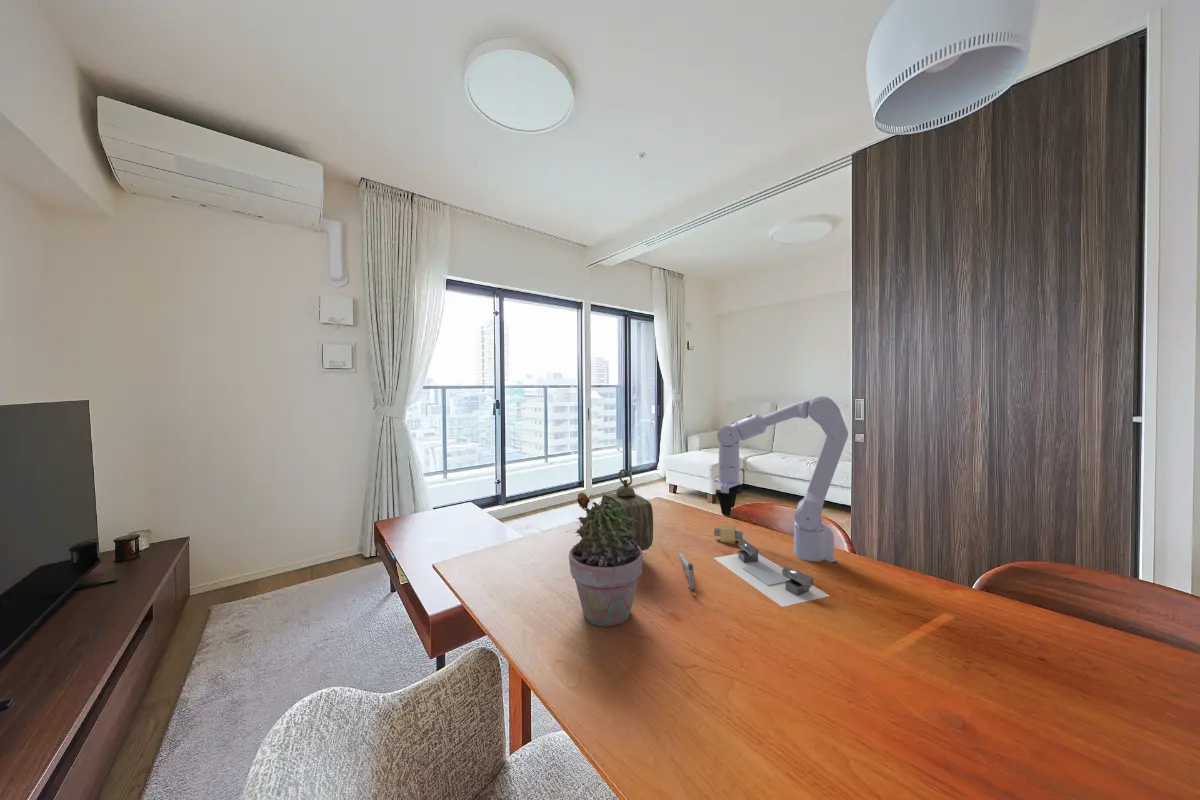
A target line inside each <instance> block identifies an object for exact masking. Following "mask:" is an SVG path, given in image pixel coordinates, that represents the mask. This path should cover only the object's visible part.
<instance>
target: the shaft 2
mask: <svg viewBox="0 0 1200 800" xmlns="http://www.w3.org/2000/svg"><path fill="white" fill-rule="evenodd" d="M782 568H783V570H782V575H783V576H784V577H786V578H788V579H790V580H788V581H786V590H787V591H789V592H791V593H793V594H795V595H796V596H799V595H801V594H804V593H806V592H809V588H810V587H811V586H812V585H813V586H814V578H813V577H812V576H810V575H808V574H806V573H803V572H801V571H799V570H797V569H794V568H792V567H789V566H787V565H785V566H784V567H782Z"/></svg>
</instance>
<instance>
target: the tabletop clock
mask: <svg viewBox="0 0 1200 800" xmlns="http://www.w3.org/2000/svg"><path fill="white" fill-rule="evenodd" d="M623 472H624V473H626V474H627V475H628V477H629V479H630V480H629V481H630V482H629V483H628V480H627V479H624V480H623V479H622V477H621V476H622V475H621V474H622V473H623ZM618 478H619V481H620V483H621V484H623V485H621V486H619V487H618V488H617V490H616V492H615V493H610V494H603V495H602V497H601V501H602V500H603V502H604V503H605V504H606V505H607V504H609V500H612V501H614V502H615V504H616V506H617V507H626V508H627V510H626V513H627V516H628V517H631V518H633V520H634V521H633V523H636V524H632V526H631V527H630V529H631V530H632V531H634V532H635V533H636V535H635V536H637V537H636V538H635V537H633V538H632V540H633V541H634V542H637V541H638V544H645V545H638V546H639V547H640V549H641V550H642V552H643V551H647V550H649V549H650V547H651V546H650V545H652V546H653V543H654V512H653V506H652V503H651V502H650V501H649V500H648V499H646V498H644V497H643V496H640V495H638V494H636V493H635V490H634V489H633V487H631V485H632V484H633V478H632V475H631V473H630V472H629V470H627V469H625V468H622V469H621V470H619V472H618ZM635 520H637V521H635ZM640 521H642V522H640ZM646 522H647V523H646ZM638 524H640V525H638ZM642 525H643V526H642ZM645 526H646V527H645ZM648 527H649V528H648ZM639 537H640V538H639Z"/></svg>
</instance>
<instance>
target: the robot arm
mask: <svg viewBox="0 0 1200 800" xmlns="http://www.w3.org/2000/svg"><path fill="white" fill-rule="evenodd" d="M808 417H809V418H810V419H811V420H812V421H814V422H815V423H816V424H818V425H819V426H820V428H821V429H822V431H823V432H824V434H825V435H826V437H825V439H824V442H823V445H822V448H821V450H820V453H819V456H818V459H817V460H816V464H815V467H814V470H813V473H812V476H811V479H810V482H809V483H808V487H807V489H806V492H805V493H804V496H803V498H801V499H800V500H799V501H798V503H797V505H796V510H795V513H794V523H793V555H794V556H795V557H797V558H799V559H801V560H804V561H808V562H821V561H823V560H826V561H827V562H829V563H835V562H837V559H836V558H835V557H834V556H835V555H834V554H835V551H834V549H835V548H834V546H835V545H834V543H835V537H834V533H833V531H832V530H831V528H830V527H829V526H828V525H826V524H824V523H823V522H822V521H823V519H822V515H823V511H824V510H823V507H824V504H825V500H826V497H827V493H828V491H829V488H830V486H831V483H832V480H833V477H834V474H835V472H836V469H837V467H838V464H839V462H840V459H841V456H842V452H843V451H844V448H845V445H846V442H847V440H848V437H849V432H848V428H847V426H846V423H845V421H844V418H843V417H844V416H842V412H841V409H840V408H839V406H838V405H837V404H836V403H835V402H834V401H833V400H832V399H831V398H830V397H828V396H823V395H822V396H817V397H815V398H813V399H811V398H810V399H807V400H802V401H798V402H795V403H792V404H789V405H787V406H785V407H782V408H780V409H778V410H775V411H773V412H770V413H768V414H766V415H759V414H756V413H755V414H752V413H749V414H747V415H746V417H745V418H743V419H739V420H737V421H735V420H733V421H730V424H727V425H724V426H722V427H721V428H720V429H719V430H718V431H717V433H716V435H717V436H716V438H717V440H718V445H719V446H718V447H719V448H718V478H717V477H715V478H714V483H718V485H719V486H720V489H716V490H715V495H716V496H717V499H718V501H719V506H720V511H721V515H723V516H729V517H730V516H731V514H732V509H734V508H735V504H736V500H737V495H738V492H739V490H740V487H741V482H740V478H739V476H740V443H739V441H746V440H748V439H751V438H754V437H757V436H759V435H761V434H765V432H766V431H767V428H768V427H771V426H773V425H776V424H779V423H781V422H785V421H788V420H790V419H793V418H799V419H808Z"/></svg>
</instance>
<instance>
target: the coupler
mask: <svg viewBox="0 0 1200 800" xmlns="http://www.w3.org/2000/svg"><path fill="white" fill-rule="evenodd" d="M737 528H738V527H737V526H735V525H727V524H722V526H721V527H720V528H719V527H715V528H714V530H713V532H714V533H713V534H714V537H720V539H719V541H720V543H723V544H729V545H735V544H736V542H737V540H739V541H740V540H741V539H744V531H742V530H741V531H740V530H737Z"/></svg>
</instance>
